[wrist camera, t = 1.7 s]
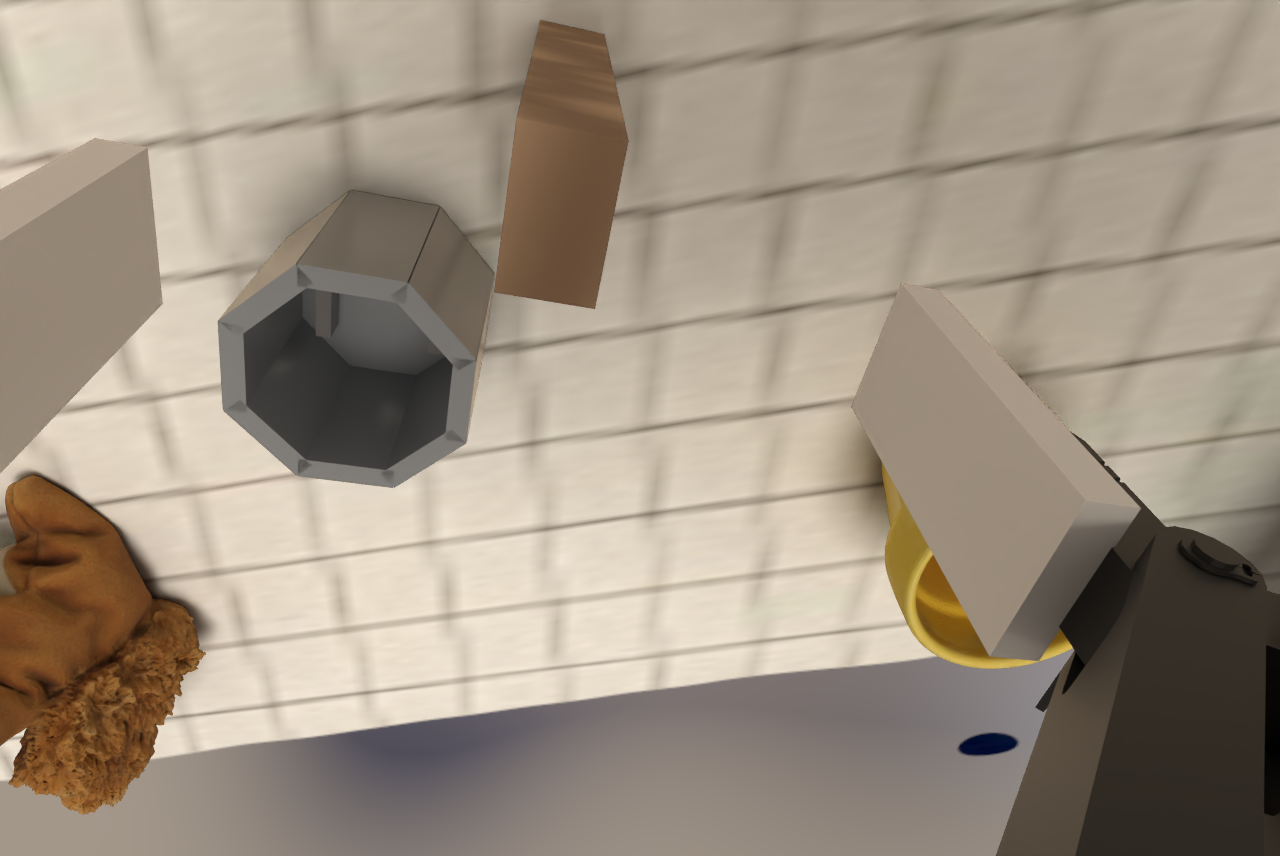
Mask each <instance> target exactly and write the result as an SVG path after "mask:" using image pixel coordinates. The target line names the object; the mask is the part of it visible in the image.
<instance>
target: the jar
mask: <svg viewBox="0 0 1280 856" xmlns="http://www.w3.org/2000/svg"><path fill="white" fill-rule="evenodd" d="M493 280H494V272H493V271H492V270H491V268H490V267H489V266H488V265H487V264H486V262H485V261H484V260H483V259H482V257H481V256H480V255H479V254H478V252H477V251H476V250H475V249H474V247H473V246H472V245H471V244H470V242H469V241H468V240H467V239H466V238H465V236H464V235H463V234H462V233H461V231H460V230H459V229H458V228H457V226H456V225H455V224H454V223H453V221H452V220H451V219H450V218H449V216H448V215H447V214H446V213H445V212H444V210H443V209H442V208H441V207H440V208H439V206H436V205H431V204H425V203H420V202H414V201H409V200H403V199H398V198H392V197H387V196H381V195H376V194H370V193H365V192H359V191H354V190H351V191H349V192H347V193H346V194H345V195H343V196H342V197H341V198H339V199H338V200H337V201H335V202H334V203H332V204H331V205H330V206H328V207H327V208H326V209H324V210H323V211H322V212H320V213H319V214H318V215H316V216H315V217H314V218H312V219H311V220H310V221H308V222H307V223H306V224H304V225H303V226H302V227H300V228H299V229H297V230H296V231H295V232H293V233H292V234H291V235H289V236H288V237H287V238H286V239H285V240H284V241H283V243H282V244H281V245H280V246H279V247H278V249H277V250H276V251H275V252H274V254H273V255H272V256H271V257H270V258H269V260H268V261H267V262H266V263H265V264H264V266H263V267H262V268H261V269H260V270H259V272H258V273H257V274H256V275H255V277H254V278H253V279H252V280H251V281H250V283H249V284H248V285H247V286H246V287H245V289H244V290H243V291H242V292H241V293H240V295H239V296H238V297H237V298H236V300H235V301H234V302H233V303H232V304H231V306H230V307H229V308H228V309H227V310H226V312H225V313H224V314H223V315H222V317H221V318H220V319H219V321H218V334H219V351H220V368H221V385H222V403H223V410H224V412H225V413H227V414H228V415H229V416H230V417H231V418H232V419H233V420H234V421H236V422H237V423H238V424H239V425H240V426H241V427H242V428H243V429H245V430H246V431H247V432H248V433H249V434H250V435H251V436H252V437H254V438H255V439H256V440H257V441H258V442H259V443H260V444H261V445H263V446H264V447H265V448H266V449H267V450H268V451H269V452H270V453H272V454H273V455H274V456H275V457H276V458H277V459H278V460H279V461H281V462H282V463H283V464H284V465H285V466H286V467H287V468H288V469H290V470H291V471H292V472H293V473H294V474H295V475H298V476H301V477H309V478H317V479H325V480H333V481H341V482H349V483H357V484H365V485H373V486H382V487H390V488H393V487H394V488H395V487H396V486H398V485H399V484H401V483H403V482H404V481H406V480H408V479H409V478H411V477H412V476H414V475H416V474H417V473H419V472H421V471H422V470H424V469H425V468H427V467H429V466H430V465H432V464H434V463H435V462H437V461H438V460H440V459H442V458H443V457H445V456H446V455H448V454H450V453H451V452H453V451H455V450H456V449H458V448H459V447H461V446H463V445H464V444H466V442H467V438H468V432H469V427H470V422H471V417H472V411H473V406H474V401H475V396H476V390H477V385H478V380H479V375H480V369H481V364H482V359H483V354H484V348H485V342H486V334H487V327H488V319H489V311H490V303H491V295H492V288H493Z"/></svg>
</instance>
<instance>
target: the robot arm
mask: <svg viewBox="0 0 1280 856" xmlns="http://www.w3.org/2000/svg"><path fill="white" fill-rule="evenodd" d="M162 304H163V303H162V292H161V282H160V272H159V262H158V251H157V241H156V231H155V221H154V210H153V200H152V190H151V180H150V170H149V159H148V149H147V147H141V146H136V145H130V144H125V143H119V142H113V141H108V140H102V139H97V138H95V139H93V140H91V141H89V142H87V143H85V144H84V145H82V146H80V147H78V148H76V149H74V150H72V151H71V152H69V153H67V154H65V155H63V156H61V157H60V158H58V159H56V160H54V161H52V162H50V163H48V164H47V165H45V166H43V167H41V168H39V169H37V170H36V171H34V172H32V173H30V174H28V175H26V176H24V177H23V178H21V179H19V180H17V181H15V182H13V183H11V184H10V185H8V186H6V187H4V188H2V189H0V473H1V472H2V471H3V470H4V469H5V468H6V467H7V466H8V465H9V464H10V463H11V462H12V461H13V460H14V459H15V457H16V456H17V455H18V454H19V453H20V452H21V451H22V450H23V449H24V448H25V447H26V446H27V445H28V444H29V443H30V442H31V441H32V440H33V439H34V438H35V437H36V436H37V434H38V433H39V432H40V431H41V430H42V429H43V428H44V427H45V426H46V425H47V424H48V423H49V422H50V421H51V420H52V419H53V418H54V417H55V416H56V415H57V414H58V413H59V411H60V410H61V409H62V408H63V407H64V406H65V405H66V404H67V403H68V402H69V401H70V400H71V399H72V398H73V397H74V396H75V395H76V394H77V393H78V392H79V391H80V389H81V388H82V387H83V386H84V385H85V384H86V383H87V382H88V381H89V380H90V379H91V378H92V377H93V376H94V375H95V374H96V373H97V372H98V371H99V370H100V369H101V368H102V366H103V365H104V364H105V363H106V362H107V361H108V360H109V359H110V358H111V357H112V356H113V355H114V354H115V353H116V352H117V351H118V350H119V349H120V348H121V347H122V346H123V345H124V343H125V342H126V341H127V340H128V339H129V338H130V337H131V336H132V335H133V334H134V333H135V332H136V331H137V330H138V329H139V328H140V327H141V326H142V325H143V324H144V323H145V322H146V320H147V319H148V318H149V317H150V316H151V315H152V314H153V313H154V312H155V311H156V310H157V309H158V308H159V307H160V306H161V305H162ZM851 407H852V409H853V410H854V412H855V414H856V416H857V418H858V420H859V421H860V423H861V425H862V427H863V429H864V430H865V432H866V434H867V436H868V438H869V439H870V441H871V443H872V445H873V447H874V448H875V450H876V452H877V454H878V456H879V457H880V459H881V461H882V463H883V465H884V467H885V468H886V470H887V472H888V474H889V476H890V477H891V479H892V481H893V483H894V485H895V486H896V488H897V490H898V492H899V494H900V495H901V497H902V499H903V501H904V503H905V505H906V506H907V508H908V510H909V512H910V514H911V515H912V517H913V519H914V521H915V523H916V524H917V526H918V528H919V530H920V532H921V533H922V535H923V537H924V539H925V541H926V543H927V544H928V546H929V548H930V550H931V552H932V553H933V555H934V557H935V559H936V561H937V562H938V564H939V566H940V568H941V570H942V571H943V573H944V575H945V577H946V579H947V580H948V582H949V584H950V586H951V588H952V590H953V591H954V593H955V595H956V597H957V599H958V600H959V602H960V604H961V606H962V608H963V609H964V611H965V613H966V615H967V617H968V618H969V620H970V622H971V624H972V626H973V628H974V629H975V631H976V633H977V635H978V637H979V638H980V640H981V642H982V644H983V646H984V647H985V649H986V651H987V653H988V655H989V656H990V657H999V658H1010V659H1020V660H1031V661H1039V660H1040V659H1041V657H1042V656H1043V654H1044V653H1045V651H1046V650H1047V648H1048V647H1049V645H1050V644H1051V642H1052V641H1053V639H1054V638H1055V636H1056V635H1057V633H1058V632H1059V630H1060V629H1061V631H1062V632H1063V634H1064V635H1065V637H1066V638H1067V640H1068V641H1069V643H1070V644H1071V646H1072V647H1073V648H1074V650H1075V651H1074V652H1073V654H1072V655H1071V657H1070V658H1069V660H1068V661H1067V662H1066V664H1065V665H1064V667H1063V668H1062V670H1061V671H1060V673H1059V674H1058V675H1057V677H1056V678H1055V680H1054V681H1053V683H1052V684H1051V686H1050V687H1049V688H1048V690H1047V691H1046V693H1045V694H1044V696H1043V697H1042V698H1041V700H1040V701H1039V703H1038V704H1037V706H1036V708H1037V709H1039V710H1041V711H1043V712H1044V711H1045V710H1046V709H1047V708H1048V709H1047V712H1046V714H1045V717H1044V720H1043V723H1042V726H1041V729H1040V732H1039V734H1038V738H1037V740H1036V743H1035V746H1034V748H1033V751H1032V754H1031V757H1030V760H1029V763H1028V766H1027V768H1026V771H1025V774H1024V777H1023V780H1022V783H1021V786H1020V788H1019V791H1018V794H1017V797H1016V800H1015V803H1014V805H1013V808H1012V811H1011V814H1010V817H1009V820H1008V823H1007V825H1006V829H1005V831H1004V834H1003V837H1002V840H1001V842H1000V845H999V849H998V851H997V854H996V856H1280V595H1279V594H1275V593H1272V592H1269V591H1267V587H1266V584H1265V581H1264V579H1263V576H1262V575H1261V574H1260V573H1259V571H1258V570H1257V569H1256V568H1255V567H1254V566H1253V565H1252V564H1251V562H1249V561H1248V560H1247V559H1245V558H1244V557H1243V556H1241V555H1240V554H1239V553H1237V552H1236V551H1235V550H1234V549H1232V548H1230V547H1228V546H1227V545H1225V544H1223V543H1221V542H1220V541H1218V540H1216V539H1214V538H1212V537H1209V536H1207V535H1204V534H1202V533H1199V532H1197V531H1194V530H1190V529H1185V528H1180V527H1176V526H1173V527H1165V526H1164V525H1163V524H1162V523H1161V522H1160V520H1159V519H1158V518H1157V517H1156V516H1155V515H1154V514H1153V513H1152V512H1151V511H1150V510H1149V509H1148V508H1147V507H1146V506H1145V504H1144V503H1143V502H1142V501H1141V500H1140V499H1139V498H1138V497H1137V496H1136V495H1135V494H1134V493H1133V492H1132V491H1131V490H1130V488H1129V487H1128V486H1127V485H1126V484H1125V483H1122V482H1120V478H1119V477H1118V476H1117V475H1116V474H1115V473H1114V471H1113V470H1112V469H1111V468H1110V467H1109V466H1104V463H1105V462H1104V461H1103V460H1102V459H1101V458H1100V457H1099V455H1098V454H1097V453H1096V452H1095V451H1094V450H1093V449H1092V448H1091V447H1090V446H1089V445H1088V444H1087V443H1086V442H1085V441H1084V440H1082V439H1081V438H1079V437H1078V436H1076V435H1075V434H1074V433H1072V432H1071V431H1069V430H1068V429H1067V428H1066V427H1065V426H1064V425H1063V424H1062V422H1061V421H1060V420H1059V419H1058V418H1057V417H1056V416H1055V415H1054V414H1053V413H1052V412H1051V411H1050V410H1049V408H1048V407H1047V406H1046V405H1045V404H1044V403H1043V402H1042V401H1041V400H1040V399H1039V398H1038V397H1037V396H1036V394H1035V393H1034V392H1033V391H1032V390H1031V389H1030V388H1029V387H1028V386H1027V385H1026V384H1025V383H1024V382H1023V380H1022V379H1021V378H1020V377H1019V376H1018V375H1017V374H1016V373H1015V372H1014V371H1013V370H1012V369H1011V367H1010V366H1009V365H1008V364H1007V363H1006V362H1005V361H1004V360H1003V359H1002V358H1001V357H1000V356H999V355H998V353H997V352H996V351H995V350H994V349H993V348H992V347H991V346H990V345H989V344H988V343H987V342H986V341H985V339H984V338H983V337H982V336H981V335H980V334H979V333H978V332H977V331H976V330H975V329H974V328H973V327H972V325H971V324H970V323H969V322H968V321H967V320H966V319H965V318H964V317H963V316H962V315H961V314H960V313H959V311H958V310H957V309H956V308H955V307H954V306H953V305H952V304H951V303H950V302H949V301H948V300H947V298H946V297H945V296H944V295H943V294H942V293H941V292H940V291H939V290H937V289H931V288H926V287H920V286H915V285H909V284H904V283H901V285H900V287H899V290H898V292H897V295H896V297H895V300H894V302H893V305H892V307H891V310H890V312H889V315H888V317H887V320H886V322H885V325H884V327H883V330H882V332H881V334H880V337H879V339H878V342H877V344H876V347H875V349H874V352H873V354H872V357H871V359H870V362H869V364H868V367H867V369H866V372H865V374H864V376H863V379H862V381H861V384H860V386H859V389H858V391H857V394H856V396H855V399H854V401H853V404H852V406H851Z"/></svg>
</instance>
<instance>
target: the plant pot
mask: <svg viewBox="0 0 1280 856" xmlns="http://www.w3.org/2000/svg"><path fill="white" fill-rule="evenodd" d="M882 477H883V483H884V488H885V494H886V501H887V507H888V514H889V521H890V531H889V534H888V537H887V541H886V546H885V565H886V570H887V574H888V577H889V580H890V583H891V586H892V589H893V591H894V594H895V597H896V599H897V602H898V604H899V606H900V608H901V611H902V613H903V615H904V617H905V620H906V622H907V624H908V626H909V628H910V630H911V631H912V633H913V634H914V636H915V637H916V638H917V640H918V641H919V642H920V643H921V644H922V645H923V646H924V647H925V648H927V649H928V650H929V651H931V652H932V653H934V654H935V655H937V656H939V657H941V658H943V659H945V660H947V661H950V662H953V663H956V664H960V665H964V666H968V667H975V668H991V669H992V668H995V669H997V668H1009V667H1017V666H1023V665H1027V664H1032V663H1036V662H1040V661H1043V660H1046V659H1049V658H1052V657H1054V656H1057V655H1059V654H1061V653H1064V652H1066V651H1068V650H1071V649H1072V648H1073V647H1072V646H1071V644H1070V643H1069V641H1068V640H1067V638H1066V637H1065V635H1064V634H1063V632H1062V631H1061V629H1060V630H1059V632H1058V633H1057V635H1056V636H1055V638H1054V639H1053V641H1052V642H1051V644H1050V645H1049V647H1048V648H1047V650H1046V651H1045V653H1044V654H1043V656H1042V657H1041V659H1040V660H1039V661H1031V660H1020V659H1010V658H999V657H990V656H989V655H988V653H987V651H986V649H985V647H984V646H983V644H982V642H981V640H980V638H979V637H978V635H977V633H976V631H975V629H974V628H973V626H972V624H971V622H970V620H969V618H968V617H967V615H966V613H965V611H964V609H963V608H962V606H961V604H960V602H959V600H958V599H957V597H956V595H955V593H954V591H953V590H952V588H951V586H950V584H949V582H948V580H947V579H946V577H945V575H944V573H943V571H942V570H941V568H940V566H939V564H938V562H937V561H936V559H935V557H934V555H933V553H932V552H931V550H930V548H929V546H928V544H927V543H926V541H925V539H924V537H923V535H922V533H921V532H920V530H919V528H918V526H917V524H916V523H915V521H914V519H913V517H912V515H911V514H910V512H909V510H908V508H907V506H906V505H905V503H904V501H903V499H902V497H901V495H900V494H899V492H898V490H897V488H896V486H895V485H894V483H893V481H892V479H891V477H890V476H889V474H888V472H887V470H886V468H885V467H884V465H883V463H882Z"/></svg>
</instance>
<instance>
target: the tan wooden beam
mask: <svg viewBox="0 0 1280 856" xmlns="http://www.w3.org/2000/svg"><path fill="white" fill-rule="evenodd" d="M627 146H628V136H627V132H626V127H625V123H624V119H623V114H622V110H621V106H620V101H619V97H618V93H617V88H616V84H615V80H614V75H613V71H612V66H611V62H610V58H609V53H608V49H607V45H606V40H605V36H604V34H600V33H596V32H592V31H587V30H583V29H578V28H574V27H569V26H565V25H560V24H556V23H551V22H547V21H542V20H540V24H539V29H538V33H537V37H536V41H535V45H534V49H533V53H532V57H531V61H530V65H529V70H528V74H527V78H526V82H525V86H524V90H523V94H522V98H521V102H520V106H519V111H518V115H517V120H516V127H515V135H514V143H513V150H512V158H511V166H510V174H509V181H508V189H507V197H506V205H505V212H504V220H503V228H502V236H501V243H500V251H499V259H498V266H497V274H496V282H495V290H494V292H496V293H502V294H508V295H514V296H520V297H526V298H532V299H538V300H544V301H550V302H556V303H562V304H568V305H574V306H580V307H586V308H592V309H595V306H596V301H597V296H598V291H599V286H600V281H601V276H602V271H603V266H604V261H605V256H606V251H607V246H608V241H609V236H610V231H611V226H612V221H613V216H614V211H615V206H616V201H617V196H618V191H619V186H620V181H621V176H622V171H623V166H624V161H625V156H626V151H627Z"/></svg>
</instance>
